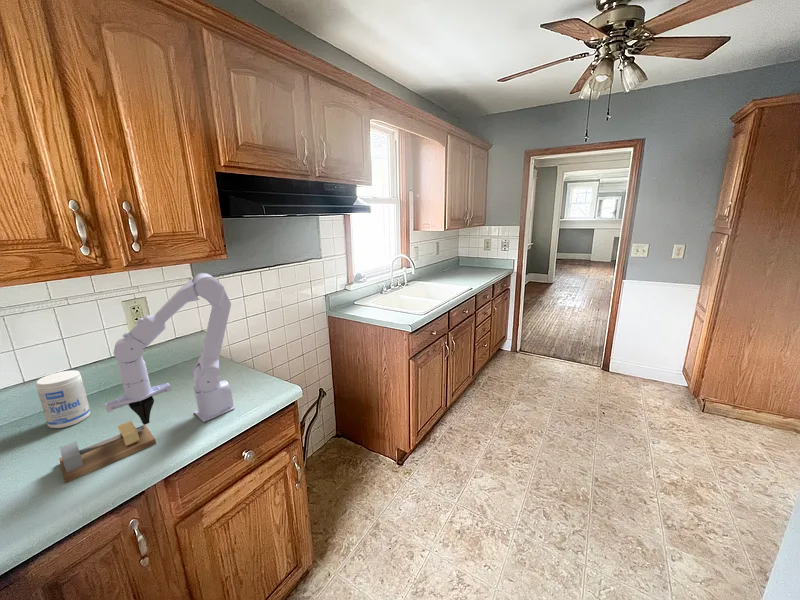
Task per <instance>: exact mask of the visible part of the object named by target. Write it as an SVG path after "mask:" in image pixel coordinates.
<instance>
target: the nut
mask: <svg viewBox="0 0 800 600" xmlns="http://www.w3.org/2000/svg"><path fill="white" fill-rule="evenodd" d="M136 428H137V427H135V425H134V423H133V421H132V420H129V421H127V422H124V423H122V424H119V425H117V429H118V433H119V435H120V434H122V440H123V442H124V444H125V446H128V445H130V444H133V443H135V442H137V441H140V439H139V435H138V431H137V429H136Z"/></svg>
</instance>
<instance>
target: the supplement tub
mask: <svg viewBox="0 0 800 600" xmlns="http://www.w3.org/2000/svg"><path fill="white" fill-rule="evenodd" d="M35 383H36V390H37V394H38V397H39V401H40V404H41V408H42V411H43V414H44V417H45V421H46V424H47V426H48V427H49V428H51V429H61V428H67V427H69V426H73V425H75V424H78V423H80V422H82V421H84V420H86V419H87V418H88V417H89V416H90V415H91V409H90V404H89V401H88V397H87V392H86V389H85V386H84V385H85V384H84V381H83V378H82V375H81V373H80V371H79V370H71V369H70V370H63V371H59V372H54V373H51V374H48V375H46V376H43V377H41V378H39V379H38V380H37V381H36V382H35Z"/></svg>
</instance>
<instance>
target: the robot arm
mask: <svg viewBox="0 0 800 600" xmlns="http://www.w3.org/2000/svg"><path fill="white" fill-rule="evenodd" d="M199 297H201V298H203V299H204V300H206V301H207V302H208V303H209V305H210V306H211V310H210V314H209V318H208V323H207V327H206V331H205V337H204V341H203V345H202V350H201V354H200V356H199V357H198V361H197V363H196V365H195V366H194V367H193V369H192V372H191V373H192V375H191V376H192V377H193V379H194V381H195V385H194V388H193V390H194V395H195V399H196V405H197V410H194V411H193V412H194V415H196V416H197V418H199V419H200V420H201V421H202V422H203V423H204V422H208V421H209V420H212V419H214V418H217V417H219V416H221V415H223V414H225V413H228V412H230V411H233V410H234V409H235V408H236V407H235V406H234V399H233V395H232V390H231V389H232V388H231V386H230V384H229V382H228V381H227V380H226V379H225V380H221V377H220V375H219V372H220V371H219V370H220V354H221V351H222V346H223V342H224V338H225V334H226V333H225V332H226V330H227V329H226V328H227V324H228V321H229V315H230V311H231V306H232V302H231V300H230V299H229V297H228V294H227V292H226V290H225V287H224V286H223V283H221V282H220V281H219V280H218V279H216V278H215V277H214V276H213V275H211V274H209V273H206V272H200V273H198V274H195V275H194V276H193V277H192V280H191V279H190V280H188V281H187V282H186V283H184V284H183V285H182V286H181V287H180V288H179V289H178V290H177V291H176V292H175V293H174V294H173V295H172V297H170V298H169V300H168V301H166V302H165V303H164V305H163V306H162V307H161V308H160V309H158V310H157V312H156V313H155V314H151V315H145V316H144V317H143V318H142V317H139V319H137V324H136V325H135V326H134V327H133V328H132V329H131V330H130V331H128V332H124V334H123V335H122V337H121V338H119V339H118V340H117V341H116V343H115V344H114V350H113V355H114V358H115V360H117V365H118V371H119V375H120V379H121V383H122V387H123V392H124V395H122V396H120V397H118V398H116V399H113V400H111V401H108V402H105V403H104V407H105V410H106V412H107V414H108V413H110V412H113V410H117V409H119V408H123V407H124V406H125V407H126V406H129V408H130V409H131V410H132V412H134V413H135V414H136V415H137V416H138V417H139V419H140V421H141V423H142V426H143V425H148V424H150V419H151V418H150V417H151V411H152V408H153V405H154V404H155V403H154V402H155V399H154V396H156V395H160V394H163V393H166V392H167V393H169V392H172V388H171V387H172V386H171V384H170V383H169V382H167V383H163V384H160V385H155V386H152V385H151V382H150V378H149V374H148V373H149V372H148V369H147V364H146V361H145V360H144V357H143V353H144V352H143V350H144V349H145V348H146V347H147V348H148V346H149V345H151V343H153V342H154V340H155V339H156V338H158V337H159V336H160V334H162V333H163V332H164V331H165V330H166V322H167V321H168V320H170V318H172V317H173V316H175V314H177V312H179V310H181V309H182V308H183V307H184V306H185V305H186V304H187V303H190V302H197V301H199V300H200V298H199Z"/></svg>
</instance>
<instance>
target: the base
mask: <svg viewBox="0 0 800 600" xmlns="http://www.w3.org/2000/svg"><path fill="white" fill-rule="evenodd" d="M135 428H136V429H137V431H138V435H139V439H140V441H137V442H135V443H133V444H130V445H128V446H125V444H124V442H123V440H122V434H120V433H119V434H118V435H115V436H112V437H110V438H108V439H105V440H102V441H100V442H98V443H95V444H92V445H89V446H86V447H84V448H82V449H79V446H78V443H77V441H74V442H71V443H68V444H66V445H63V446H60V447H59V451H60V454H61V457H58V460H59V464H60V469H61V473H62V474H61V475H62V477H63V480H64V483H65V484H66V483H68V482H71V481H73V480H75V479H78V478H80V477H82V476H84V475H87V474H89V473H91V472H93V471H97V470H98V469H100V468H103V467H105V466H107V465H109V464H112V463H114V462H117V461H119V460H122V459H123V458H127V457H128V456H131V455H133V454H136V453H138V452H139V451H142V450H145V449H147V448H149V447H152V446H153V445H156V444H157V441H156V438H155V437H154V435H153V434H152V432H151V431H150V430H149V428H148V426H147V424H145V425H143V424H142V425H140V426H138V427H135Z"/></svg>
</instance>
